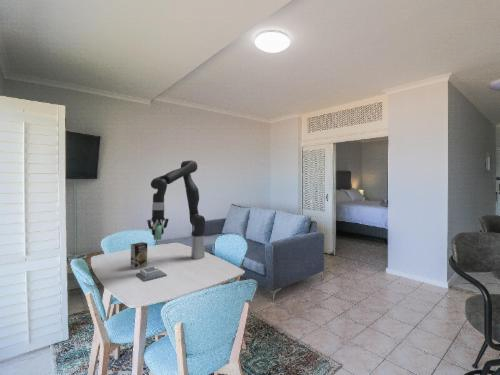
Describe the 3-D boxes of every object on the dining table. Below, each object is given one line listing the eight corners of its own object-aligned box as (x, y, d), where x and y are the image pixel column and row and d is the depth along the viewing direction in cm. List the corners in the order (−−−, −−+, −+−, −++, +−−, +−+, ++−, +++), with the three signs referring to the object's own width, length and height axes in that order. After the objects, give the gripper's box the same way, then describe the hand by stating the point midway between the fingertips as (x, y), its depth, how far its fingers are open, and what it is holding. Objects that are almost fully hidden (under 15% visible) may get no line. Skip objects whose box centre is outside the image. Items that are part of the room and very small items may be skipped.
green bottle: (159, 237, 178) (160, 220, 178) (162, 239, 175) (163, 221, 175) (152, 238, 175) (153, 221, 175) (155, 240, 172) (155, 222, 171)
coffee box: (135, 269, 178) (135, 245, 177) (130, 267, 182) (130, 244, 181) (147, 266, 185) (147, 243, 185) (142, 264, 189) (142, 241, 188)
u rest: (157, 269, 178) (157, 264, 178) (166, 275, 168) (166, 269, 167) (135, 274, 168) (135, 268, 168) (144, 281, 158) (144, 274, 158)
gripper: (166, 208, 182) (165, 232, 182) (145, 208, 173) (144, 235, 173) (171, 209, 176) (170, 234, 177) (149, 210, 167) (148, 237, 167)
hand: (157, 234), depth 175 cm, fingers closed on green bottle, 4 cm apart
